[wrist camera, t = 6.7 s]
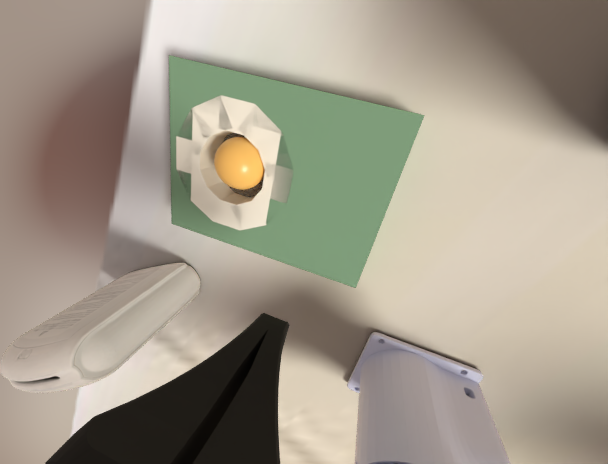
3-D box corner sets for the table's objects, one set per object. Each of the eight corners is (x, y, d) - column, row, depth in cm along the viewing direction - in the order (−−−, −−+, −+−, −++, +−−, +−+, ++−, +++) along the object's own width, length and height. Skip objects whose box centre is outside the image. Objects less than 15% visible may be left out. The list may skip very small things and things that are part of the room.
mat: (418, 116, 15) (424, 115, 13) (357, 272, 20) (355, 288, 18) (192, 63, 18) (168, 55, 16) (189, 215, 23) (171, 223, 21)
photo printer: (142, 301, 30) (3, 404, 19) (123, 270, 28) (-37, 361, 17) (209, 292, 26) (86, 412, 15) (191, 256, 25) (43, 359, 14)
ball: (236, 131, 19) (277, 157, 19) (215, 173, 19) (255, 197, 20) (222, 120, 15) (272, 152, 16) (196, 171, 16) (245, 200, 16)
